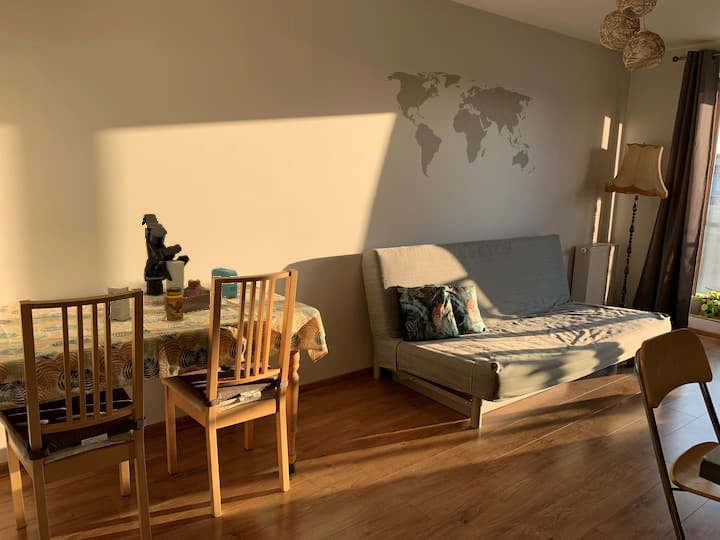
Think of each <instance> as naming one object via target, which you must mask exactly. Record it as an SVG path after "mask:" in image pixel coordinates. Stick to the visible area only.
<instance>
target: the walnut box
mask: <svg viewBox="0 0 720 540" xmlns="http://www.w3.org/2000/svg"><path fill="white" fill-rule="evenodd" d="M210 290H211V289H207V288H205V289H203V288H201V289H200V295H197V296H192V297H187V298H186V297H183V313H185V314H189V313H188V312H190V313H194V312H198V311H197V310H199V311H202V310H201V309H203V310H206V309H205V308H208V309H210V308H209V305H210ZM163 305H164V306H163V309H164V311H166V294H164V295H163ZM193 311H194V312H193Z"/></svg>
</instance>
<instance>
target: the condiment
mask: <svg viewBox="0 0 720 540" xmlns="http://www.w3.org/2000/svg"><path fill="white" fill-rule="evenodd" d="M181 290H182V289H181V288H180V287H170V288H167V295H166V294H165V295H166V310H165V311H166V314H165V316H164V317H161V318H158V319H159V320H158V321H167V322H172V321H173V323H179V322H181V321H183V320H182V319H184V320H186V319H188V318H189V317H188V316H184V314H183V298H184V297H183V296H182V294H181V293H182V292H181ZM166 317H167V320H164V319H165V318H166Z"/></svg>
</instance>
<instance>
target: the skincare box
mask: <svg viewBox="0 0 720 540" xmlns="http://www.w3.org/2000/svg"><path fill="white" fill-rule="evenodd" d="M129 289H130V288H129V286H124V285H123V286H122V285H113V286H112V285H111V286H108V287H107V295H108V294H114V293H121V292H126V291H129V292H130V290H129ZM130 305H131V304H130V298H129V299H124V300H119V301H113V302H111V303H110V306H111V318H113V319H117V320H116V321H125V320H129V319H131V307H130ZM113 319H112V320H113Z"/></svg>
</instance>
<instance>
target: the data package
mask: <svg viewBox="0 0 720 540" xmlns="http://www.w3.org/2000/svg"><path fill="white" fill-rule="evenodd" d="M213 276H221V277H230V276H237V277H238V272H237V271H236V269H235V270H234V269H229V268H225V267H224V268H223V267H218V268H217V267H216V268H213V269H211V278H212V277H213ZM223 296H226V297H232V298H234V297H233V296H236V297H237V296H238V282H237V283H234V284H223V285H222V297H221V298H224V297H223Z"/></svg>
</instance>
